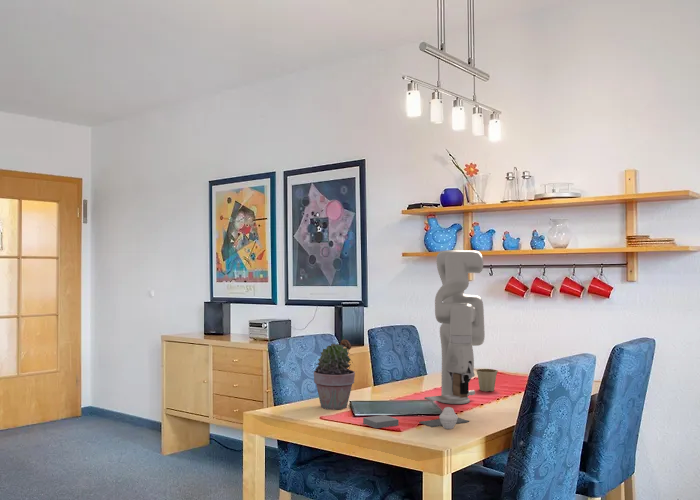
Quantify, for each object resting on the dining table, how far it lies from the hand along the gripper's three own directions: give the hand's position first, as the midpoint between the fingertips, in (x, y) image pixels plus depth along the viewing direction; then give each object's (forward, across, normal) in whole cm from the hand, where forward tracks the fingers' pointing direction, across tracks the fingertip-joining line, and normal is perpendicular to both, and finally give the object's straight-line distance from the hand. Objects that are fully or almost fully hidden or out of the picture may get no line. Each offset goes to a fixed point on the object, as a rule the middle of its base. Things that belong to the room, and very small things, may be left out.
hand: (460, 392), depth 239 cm
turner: (+1, 0, -6) cm, 6 cm away
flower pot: (+9, -39, +47) cm, 62 cm away
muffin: (+10, +6, -10) cm, 16 cm away
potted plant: (+10, -39, -29) cm, 50 cm away
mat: (+10, 0, -7) cm, 12 cm away
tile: (+9, -8, -23) cm, 26 cm away
